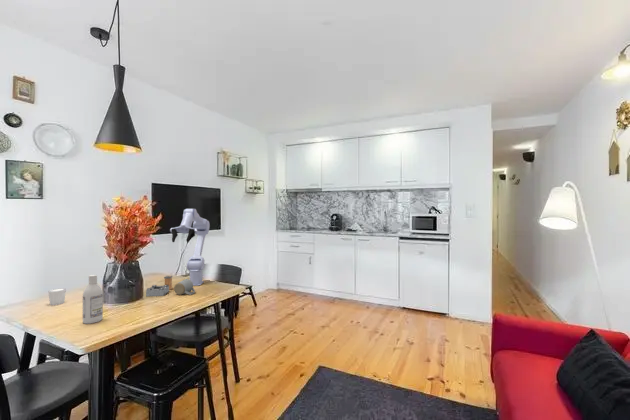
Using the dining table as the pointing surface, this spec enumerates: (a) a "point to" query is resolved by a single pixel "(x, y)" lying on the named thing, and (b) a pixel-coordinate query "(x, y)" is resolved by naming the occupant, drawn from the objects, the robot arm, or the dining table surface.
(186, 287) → the ceramic mug
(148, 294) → the rosette block
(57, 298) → the white ribbed cup
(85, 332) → the dining table surface
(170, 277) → the wedge pin
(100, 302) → the bath foam
